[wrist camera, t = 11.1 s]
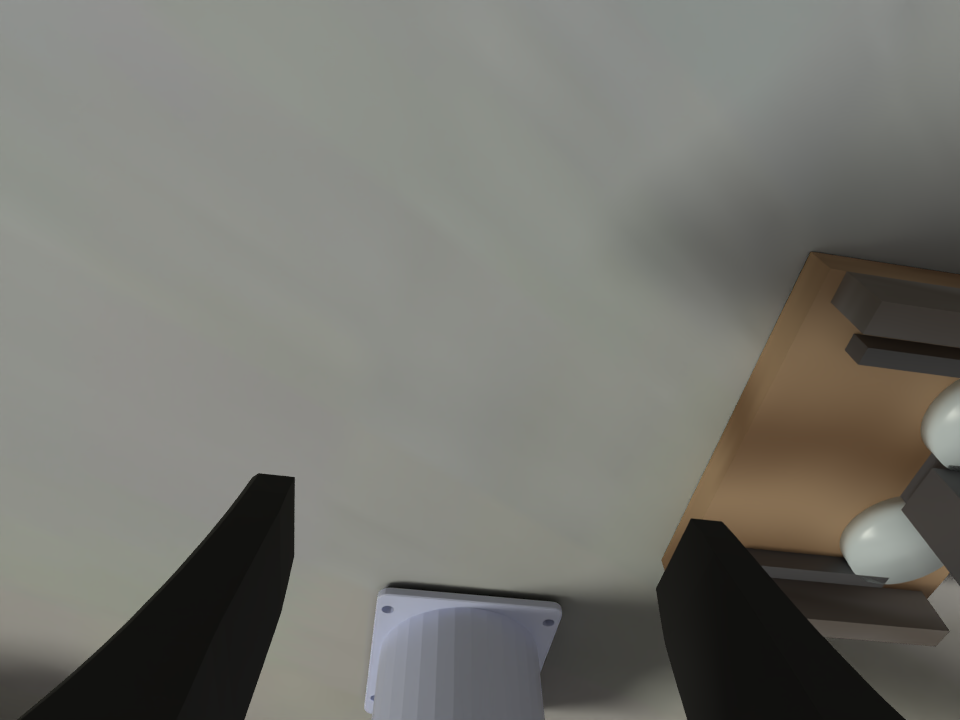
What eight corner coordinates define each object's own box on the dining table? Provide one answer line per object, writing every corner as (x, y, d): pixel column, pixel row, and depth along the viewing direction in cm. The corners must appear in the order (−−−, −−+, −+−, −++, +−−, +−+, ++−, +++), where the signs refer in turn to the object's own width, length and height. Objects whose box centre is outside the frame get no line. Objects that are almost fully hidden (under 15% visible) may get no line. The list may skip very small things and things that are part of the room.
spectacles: (912, 574, 25) (996, 693, 21) (727, 557, 24) (779, 676, 20) (1083, 365, 20) (1241, 471, 16) (853, 333, 19) (958, 437, 15)
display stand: (902, 583, 27) (946, 647, 25) (661, 560, 26) (682, 624, 24) (1135, 301, 20) (1231, 352, 17) (810, 251, 19) (864, 298, 16)
